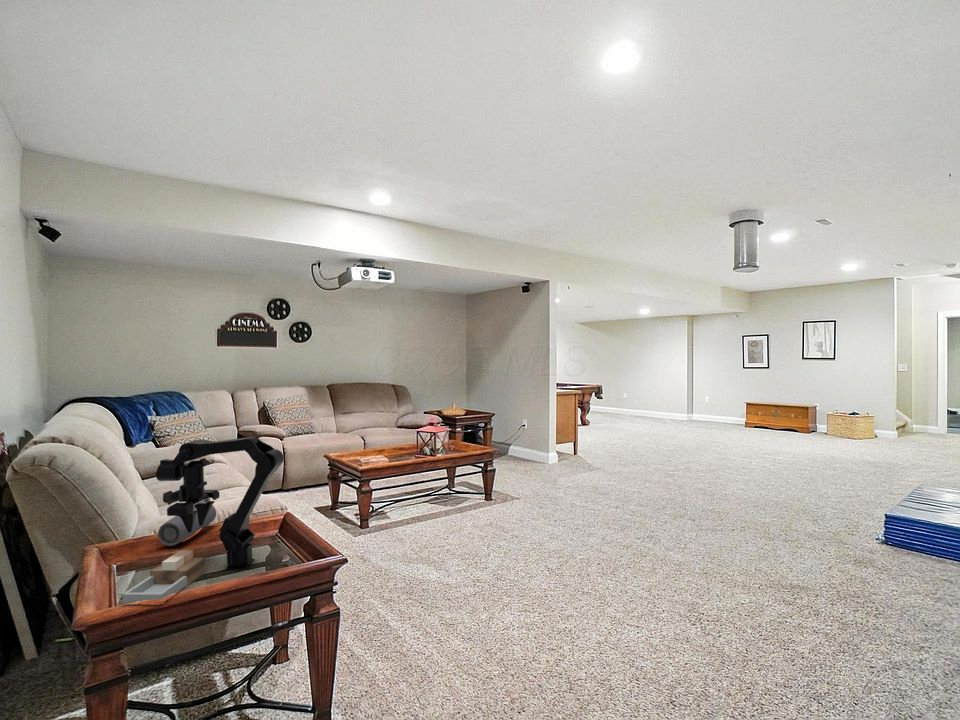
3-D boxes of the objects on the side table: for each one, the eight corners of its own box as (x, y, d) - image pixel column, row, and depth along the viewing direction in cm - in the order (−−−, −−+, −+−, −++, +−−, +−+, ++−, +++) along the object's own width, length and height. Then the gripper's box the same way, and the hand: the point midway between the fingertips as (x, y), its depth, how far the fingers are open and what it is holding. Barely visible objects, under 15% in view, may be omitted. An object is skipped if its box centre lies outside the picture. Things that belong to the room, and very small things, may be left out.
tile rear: (192, 558, 155) (192, 550, 155) (184, 564, 151) (184, 555, 151) (180, 558, 155) (180, 550, 155) (171, 564, 151) (171, 555, 151)
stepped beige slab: (205, 572, 156) (204, 557, 155) (187, 585, 147) (186, 570, 146) (170, 572, 156) (170, 557, 156) (150, 585, 147) (150, 570, 147)
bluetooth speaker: (183, 549, 174) (182, 521, 174) (156, 549, 174) (155, 521, 174) (218, 526, 197) (217, 500, 196) (195, 526, 197) (194, 501, 197)
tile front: (184, 564, 151) (183, 556, 151) (175, 570, 147) (175, 562, 147) (171, 564, 151) (171, 556, 151) (162, 570, 147) (162, 562, 147)
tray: (187, 585, 147) (187, 575, 146) (162, 605, 136) (161, 594, 136) (150, 585, 147) (150, 575, 147) (122, 605, 136) (122, 594, 136)
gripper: (187, 473, 169) (189, 519, 170) (148, 488, 151) (150, 540, 151) (219, 472, 169) (221, 518, 169) (184, 488, 150) (186, 539, 151)
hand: (195, 528), depth 160 cm, fingers open, 6 cm apart
